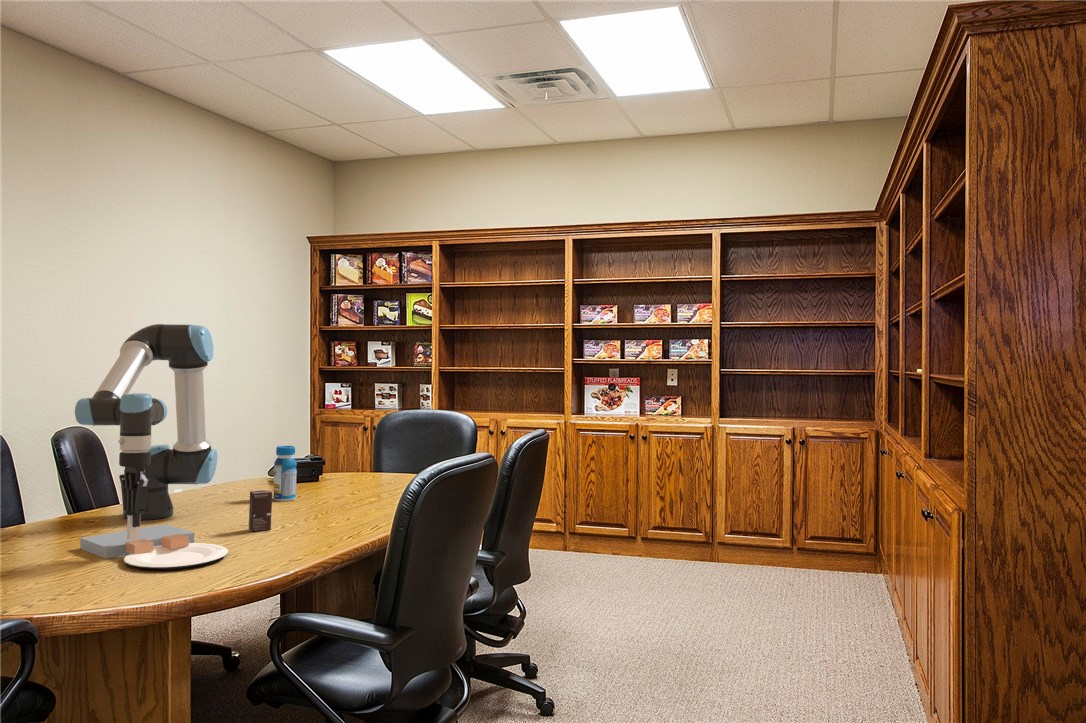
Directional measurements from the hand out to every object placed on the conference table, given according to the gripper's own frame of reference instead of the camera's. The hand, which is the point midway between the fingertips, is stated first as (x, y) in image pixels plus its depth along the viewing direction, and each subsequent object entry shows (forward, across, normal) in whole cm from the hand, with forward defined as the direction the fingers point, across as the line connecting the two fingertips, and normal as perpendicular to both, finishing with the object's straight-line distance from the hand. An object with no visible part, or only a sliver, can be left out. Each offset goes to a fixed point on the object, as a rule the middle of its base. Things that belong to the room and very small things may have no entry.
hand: (133, 538), depth 208 cm
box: (+5, -2, +40) cm, 40 cm away
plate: (+5, +13, +5) cm, 15 cm away
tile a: (+3, +4, +9) cm, 11 cm away
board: (+4, -9, +6) cm, 11 cm away
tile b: (+3, +3, 0) cm, 4 cm away
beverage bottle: (+5, -41, +74) cm, 85 cm away
